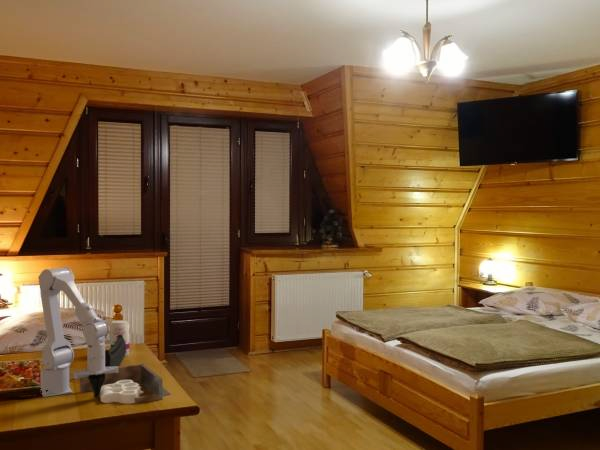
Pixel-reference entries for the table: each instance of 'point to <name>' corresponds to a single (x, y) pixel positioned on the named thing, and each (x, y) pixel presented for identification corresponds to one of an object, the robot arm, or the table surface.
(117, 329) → the supplement can
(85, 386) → the shelf wall
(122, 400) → the white multi-hole holder
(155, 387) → the bookend
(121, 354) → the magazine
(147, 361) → the table surface
